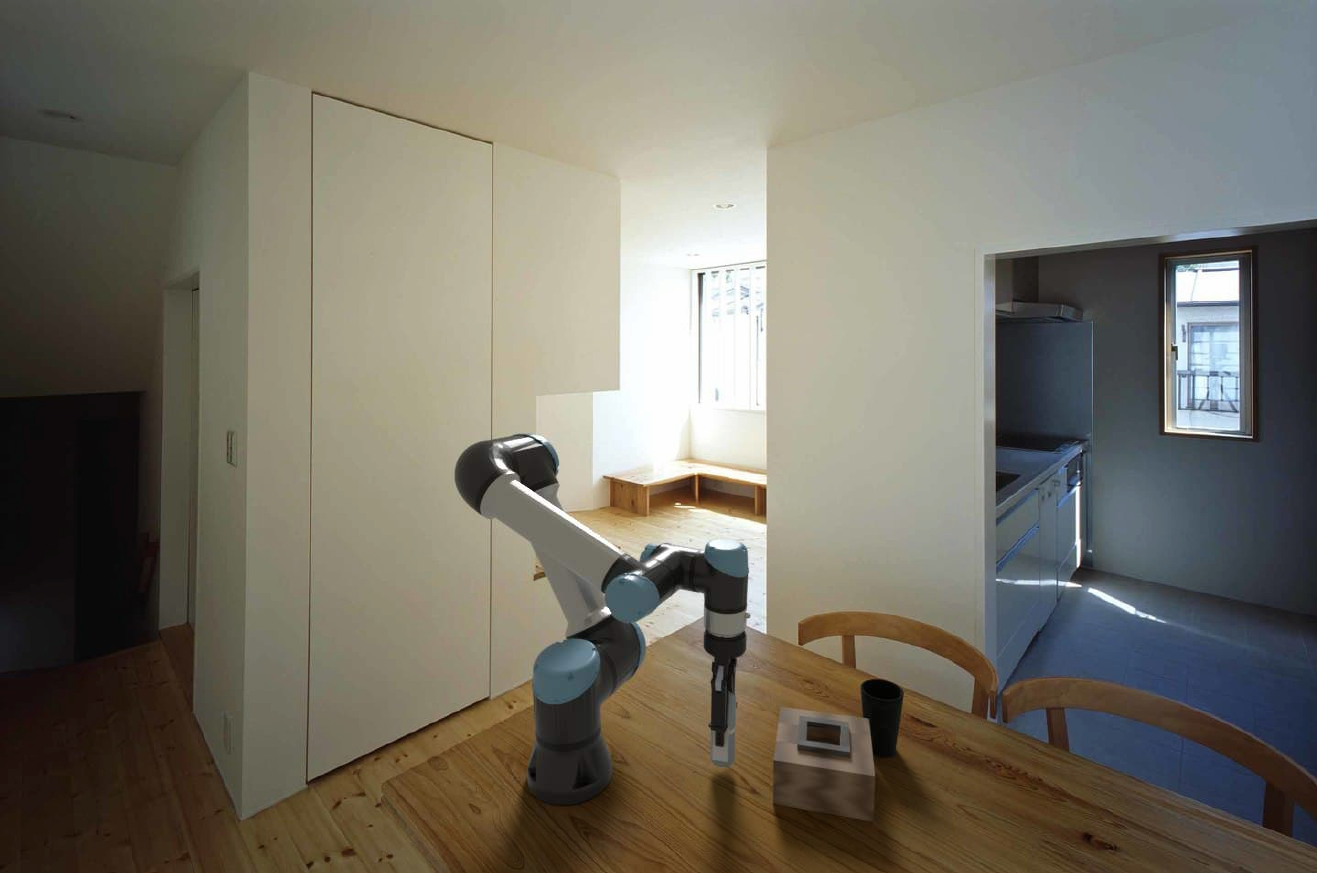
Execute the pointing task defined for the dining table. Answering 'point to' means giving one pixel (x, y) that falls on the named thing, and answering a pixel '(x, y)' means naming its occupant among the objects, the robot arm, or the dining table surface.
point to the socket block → (824, 764)
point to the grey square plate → (823, 741)
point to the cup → (882, 714)
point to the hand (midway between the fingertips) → (722, 750)
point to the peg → (731, 734)
